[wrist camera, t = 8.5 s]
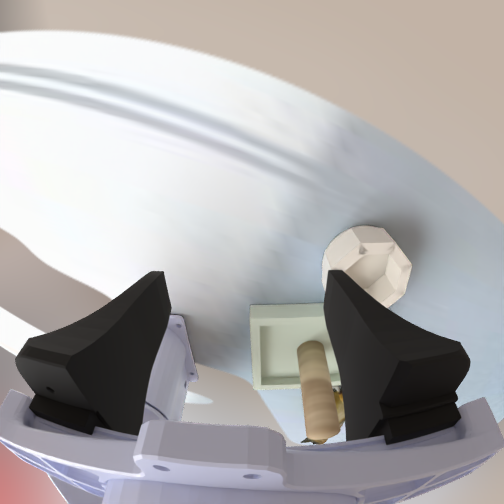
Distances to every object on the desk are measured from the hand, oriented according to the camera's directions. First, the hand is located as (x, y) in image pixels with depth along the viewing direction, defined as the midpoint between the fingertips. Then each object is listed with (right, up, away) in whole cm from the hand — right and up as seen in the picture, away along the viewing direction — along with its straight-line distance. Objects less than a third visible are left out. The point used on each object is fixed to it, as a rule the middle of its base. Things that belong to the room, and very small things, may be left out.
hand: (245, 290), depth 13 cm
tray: (+6, -7, +14) cm, 17 cm away
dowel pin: (+6, -8, +14) cm, 17 cm away
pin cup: (+9, +1, +10) cm, 13 cm away
